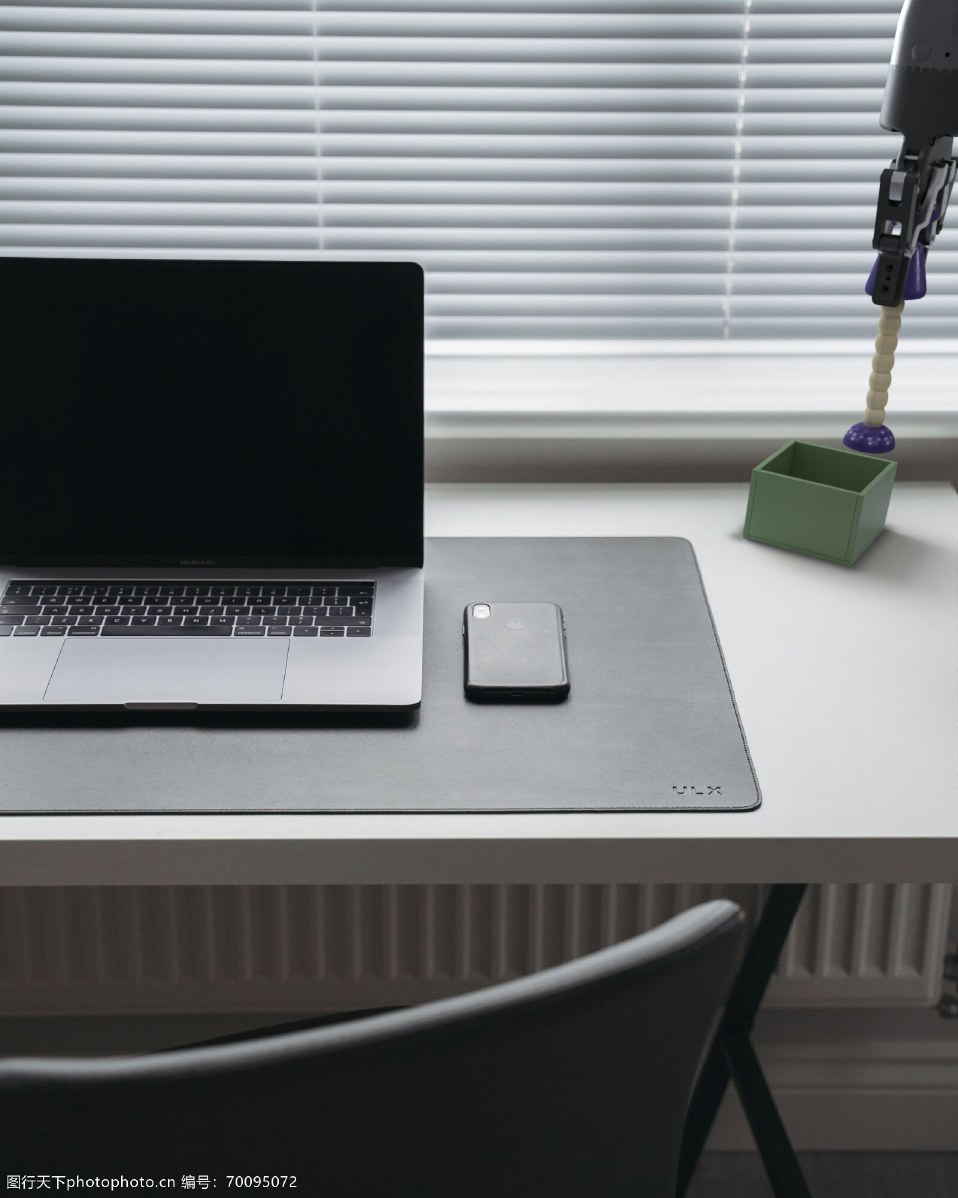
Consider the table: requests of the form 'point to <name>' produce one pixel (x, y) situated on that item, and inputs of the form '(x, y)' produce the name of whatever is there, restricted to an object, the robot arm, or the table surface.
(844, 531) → the bin
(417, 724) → the table surface
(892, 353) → the toy lamp
